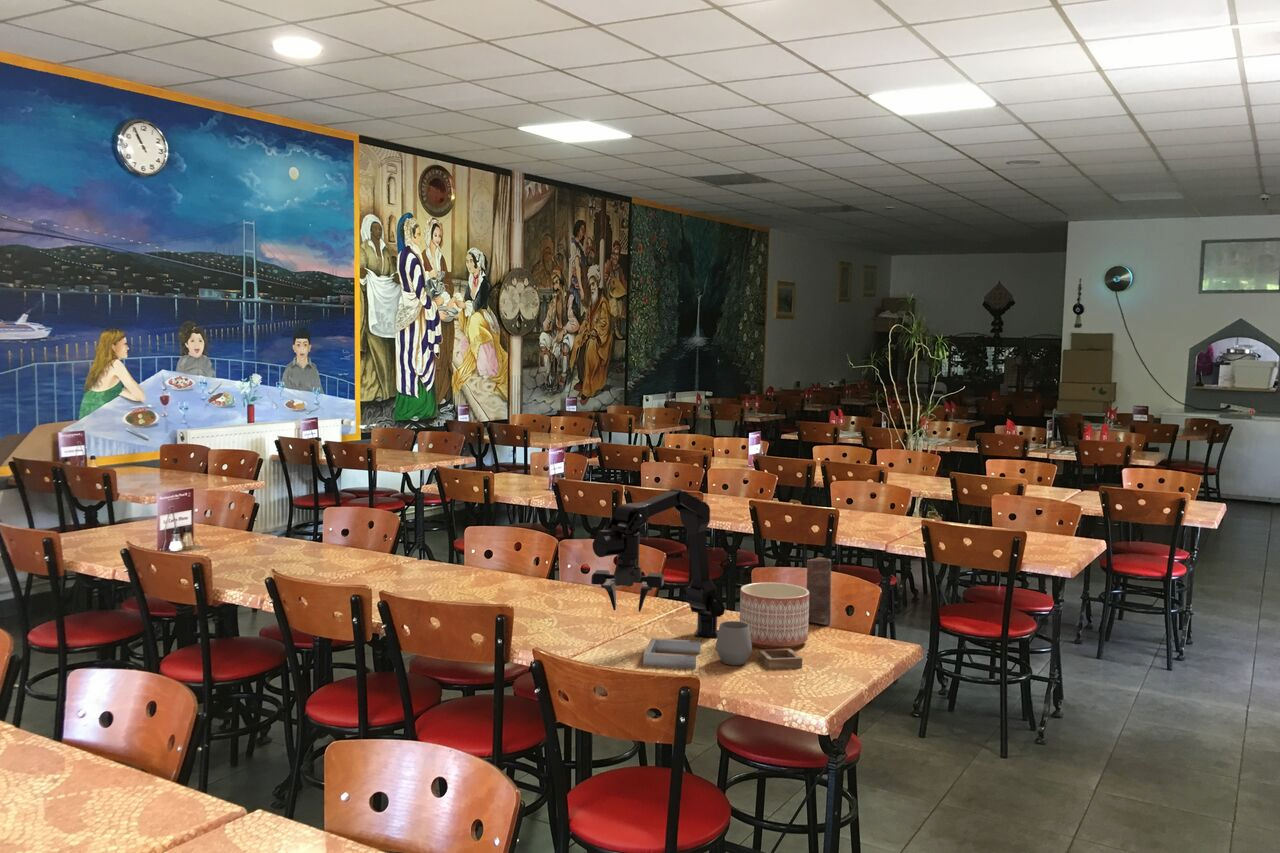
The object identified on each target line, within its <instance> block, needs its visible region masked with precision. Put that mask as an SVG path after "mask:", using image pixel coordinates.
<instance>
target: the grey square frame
mask: <svg viewBox="0 0 1280 853" xmlns="http://www.w3.org/2000/svg"><path fill="white" fill-rule="evenodd" d="M701 645H702V641H701V640H689V639H688V640H687V639H686V640H685V639H674V638H673V639H672V638H670V639H669V638H657V637H656V638H655V637H654V638H653V637H651V639H650V640H649V642H648V645H647V646H646V648H645V651H644V652H643V660H642V661H643V662H642V663H643V664H642V665H643V666H647V667H648V666H649V667H662V668H663V667H664V668H675V669H676V668H677V669H678V668H679V669H690V670H693V669H694V670H696V668H697V655H694V654H701V650H702V646H701ZM660 652H662V653H660ZM663 652H668V653H663ZM669 652H670V653H669ZM676 653H686V654H676Z"/></svg>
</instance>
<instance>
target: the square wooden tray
mask: <svg viewBox="0 0 1280 853" xmlns="http://www.w3.org/2000/svg"><path fill="white" fill-rule="evenodd" d="M757 660H759V662H760V663H762V664H763V665H764V666H765V667H766V668H767V669H768V670H776V669H777V670H778V669H781V670H782V669H797V668H798V669H799V668H803V658H802V656H800V655H799V654H797V653H796V652H795V651H794V650H793V648H789V649H766V648H763V649H758V650H757Z"/></svg>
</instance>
